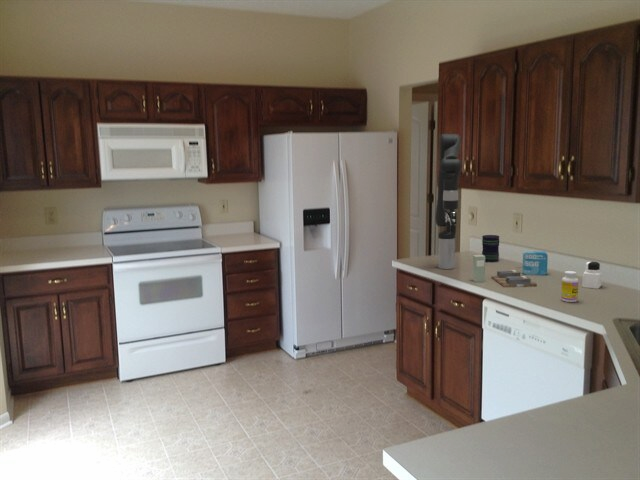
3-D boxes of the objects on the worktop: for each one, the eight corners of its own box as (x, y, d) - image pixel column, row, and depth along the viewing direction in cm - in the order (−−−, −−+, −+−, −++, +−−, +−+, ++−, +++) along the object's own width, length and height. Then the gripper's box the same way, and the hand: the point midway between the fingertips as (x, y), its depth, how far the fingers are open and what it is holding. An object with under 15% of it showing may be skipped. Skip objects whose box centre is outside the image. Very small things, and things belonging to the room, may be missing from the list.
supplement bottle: (572, 303, 245) (573, 274, 243) (558, 300, 250) (559, 272, 248) (580, 300, 248) (581, 272, 246) (566, 297, 254) (567, 269, 252)
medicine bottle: (601, 285, 273) (602, 261, 271) (598, 289, 267) (599, 264, 265) (584, 284, 277) (586, 260, 275) (582, 287, 271) (583, 262, 269)
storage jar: (478, 259, 343) (479, 235, 341) (493, 258, 345) (494, 234, 342) (486, 262, 333) (487, 237, 331) (502, 261, 335) (502, 236, 333)
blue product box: (522, 274, 301) (523, 252, 299) (522, 272, 305) (523, 250, 303) (547, 275, 298) (547, 253, 296) (546, 273, 302) (547, 251, 300)
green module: (472, 279, 293) (473, 255, 291) (482, 279, 293) (482, 254, 291) (475, 281, 288) (475, 256, 286) (484, 281, 288) (485, 256, 286)
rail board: (491, 277, 295) (491, 270, 295) (521, 277, 296) (522, 269, 295) (503, 287, 276) (504, 279, 275) (536, 286, 276) (536, 278, 275)
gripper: (461, 200, 277) (461, 233, 279) (454, 197, 291) (454, 229, 293) (446, 200, 277) (446, 233, 279) (439, 198, 291) (439, 229, 293)
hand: (450, 231), depth 286 cm, fingers open, 8 cm apart
